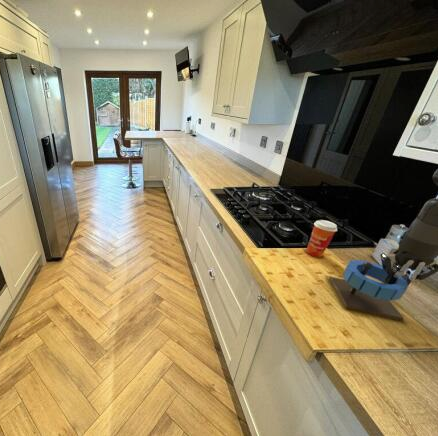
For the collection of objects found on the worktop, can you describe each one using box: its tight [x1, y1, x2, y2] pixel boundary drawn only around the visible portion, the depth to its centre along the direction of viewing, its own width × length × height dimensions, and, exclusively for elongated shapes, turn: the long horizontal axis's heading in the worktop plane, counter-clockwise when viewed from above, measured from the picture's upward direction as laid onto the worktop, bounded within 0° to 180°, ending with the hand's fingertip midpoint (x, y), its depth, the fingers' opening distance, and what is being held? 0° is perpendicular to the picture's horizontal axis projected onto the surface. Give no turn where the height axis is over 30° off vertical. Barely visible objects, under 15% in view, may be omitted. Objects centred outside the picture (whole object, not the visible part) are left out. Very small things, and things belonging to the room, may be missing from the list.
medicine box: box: [371, 238, 400, 266], centre depth 92 cm, size 8×4×9 cm, turn 161°
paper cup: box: [306, 219, 338, 258], centre depth 95 cm, size 8×8×14 cm
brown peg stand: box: [328, 261, 405, 322], centre depth 72 cm, size 14×14×13 cm
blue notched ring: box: [342, 259, 409, 302], centre depth 72 cm, size 14×14×4 cm
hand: (394, 286), depth 71 cm, fingers closed on blue notched ring, 2 cm apart
